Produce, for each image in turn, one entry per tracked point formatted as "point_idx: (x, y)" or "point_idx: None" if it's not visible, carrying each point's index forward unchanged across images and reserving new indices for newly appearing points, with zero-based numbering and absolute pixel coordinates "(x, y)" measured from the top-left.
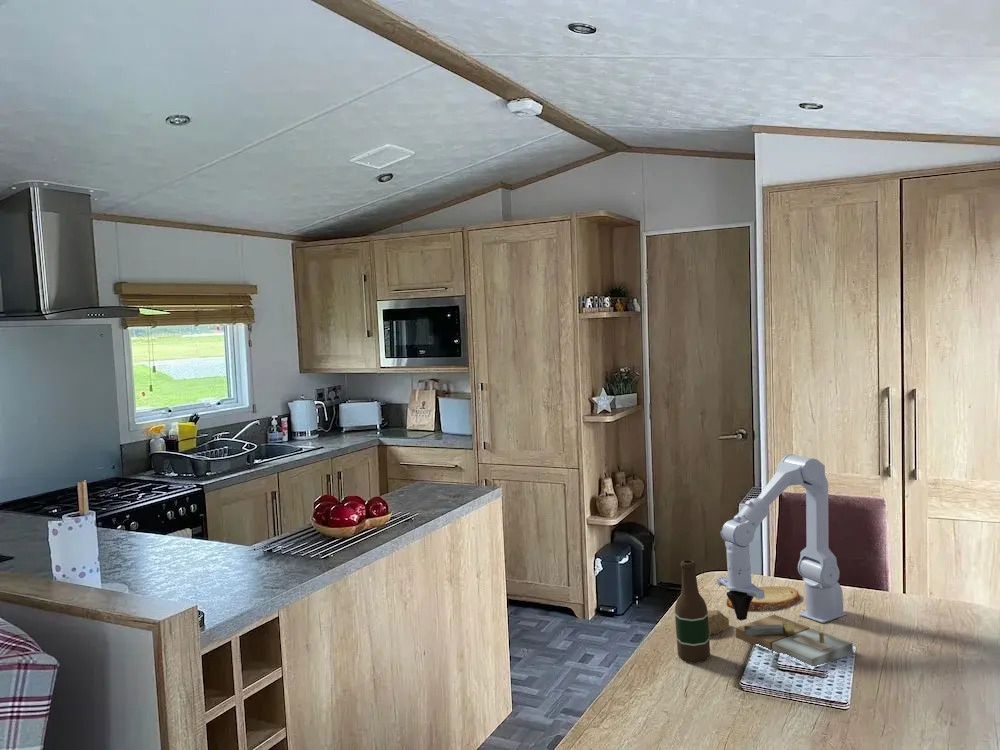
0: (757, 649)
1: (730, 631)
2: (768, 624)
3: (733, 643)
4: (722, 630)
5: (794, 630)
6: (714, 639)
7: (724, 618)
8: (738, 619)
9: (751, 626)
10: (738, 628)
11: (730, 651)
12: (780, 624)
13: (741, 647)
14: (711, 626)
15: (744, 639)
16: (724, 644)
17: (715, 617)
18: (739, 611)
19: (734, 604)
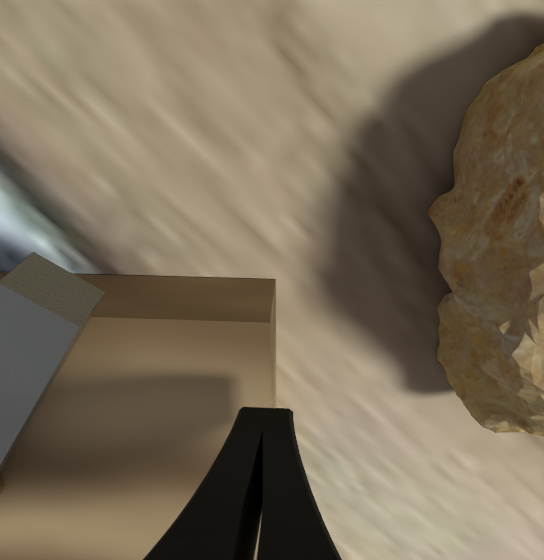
0: (13, 238)
1: (386, 328)
2: (170, 503)
3: (201, 185)
4: (443, 300)
5: (4, 525)
6: (371, 121)
7: (496, 404)
8: (271, 408)
9: (36, 365)
10: (245, 333)
11: (76, 35)
12: (125, 538)
13: (101, 176)
14: (474, 199)
15: (181, 283)
16: (230, 110)
17: (503, 312)
18: (214, 476)
19: (277, 543)
